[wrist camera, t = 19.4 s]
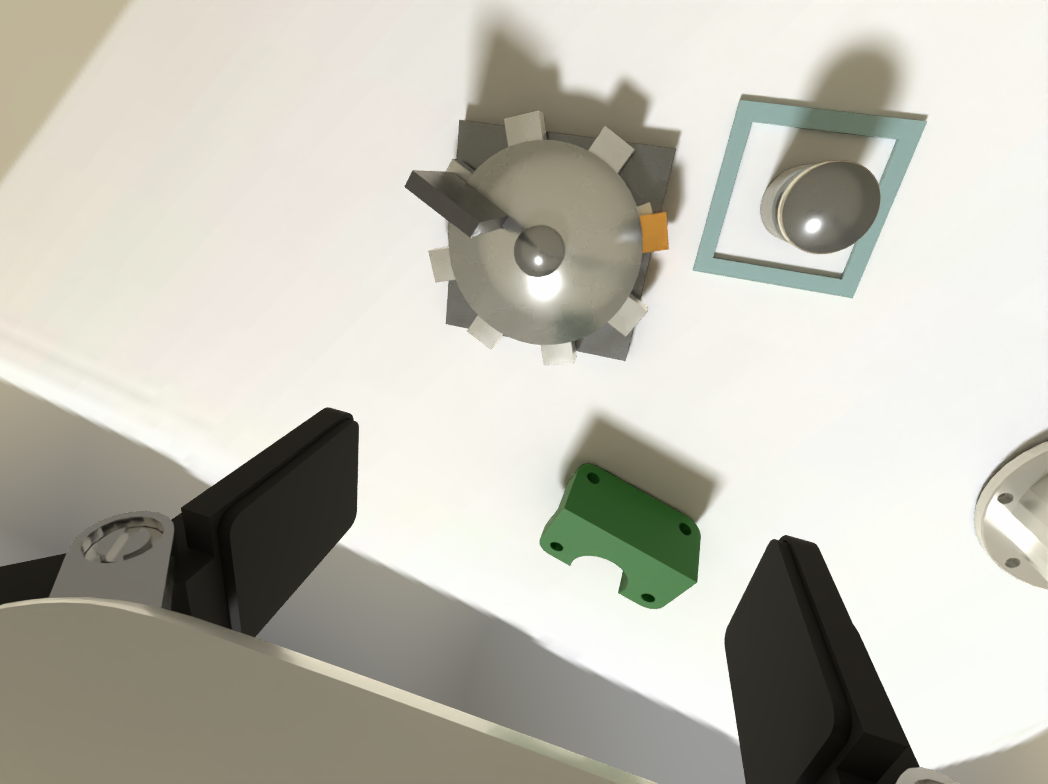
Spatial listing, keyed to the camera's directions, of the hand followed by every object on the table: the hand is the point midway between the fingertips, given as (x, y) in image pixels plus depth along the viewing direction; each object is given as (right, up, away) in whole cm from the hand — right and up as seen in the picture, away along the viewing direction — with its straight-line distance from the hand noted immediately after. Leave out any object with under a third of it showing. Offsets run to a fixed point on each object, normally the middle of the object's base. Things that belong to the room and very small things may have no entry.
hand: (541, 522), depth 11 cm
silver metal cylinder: (+17, +15, +19) cm, 29 cm away
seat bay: (+17, +15, +19) cm, 29 cm away
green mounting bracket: (+8, -8, +32) cm, 34 cm away
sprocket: (+1, +13, +23) cm, 26 cm away
